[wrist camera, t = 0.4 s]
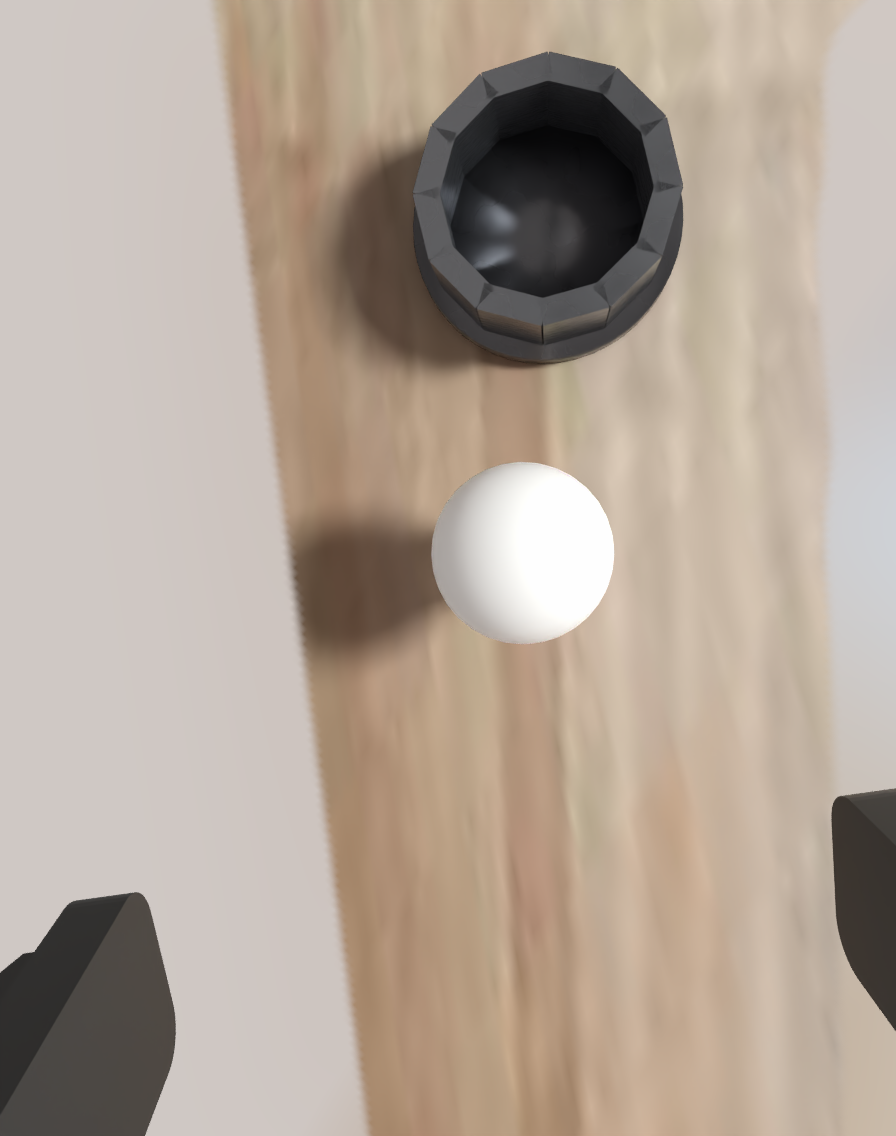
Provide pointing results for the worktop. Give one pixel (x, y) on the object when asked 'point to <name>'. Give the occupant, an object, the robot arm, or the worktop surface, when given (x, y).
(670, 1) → the worktop surface
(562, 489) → the lightbulb
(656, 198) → the socket holder
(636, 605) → the worktop surface
